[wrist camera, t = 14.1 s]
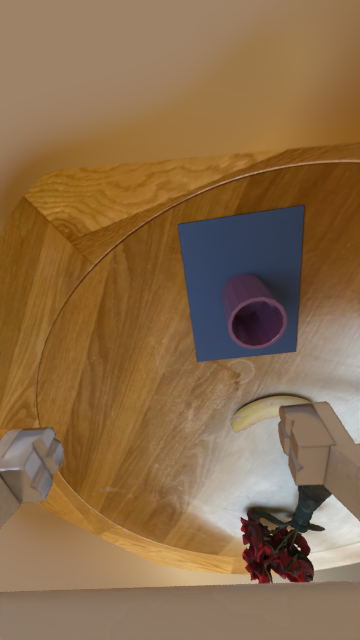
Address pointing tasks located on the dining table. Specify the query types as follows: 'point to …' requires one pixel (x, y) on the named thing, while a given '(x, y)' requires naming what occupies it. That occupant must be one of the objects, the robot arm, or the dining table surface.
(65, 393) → the dining table surface
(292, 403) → the fruit
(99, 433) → the dining table surface
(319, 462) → the robot arm
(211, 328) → the rectangular board
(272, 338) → the cup
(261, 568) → the vase with red roses
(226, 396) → the dining table surface
